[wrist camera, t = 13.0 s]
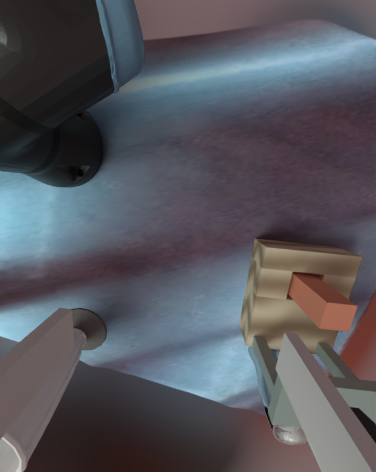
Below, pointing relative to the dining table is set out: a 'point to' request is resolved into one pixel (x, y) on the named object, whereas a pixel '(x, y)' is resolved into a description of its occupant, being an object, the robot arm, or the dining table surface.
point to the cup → (48, 395)
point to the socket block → (277, 284)
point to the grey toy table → (346, 382)
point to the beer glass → (280, 432)
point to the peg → (321, 302)
